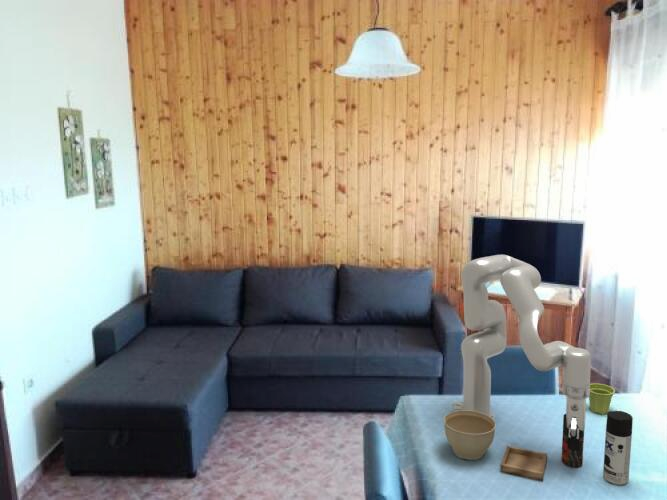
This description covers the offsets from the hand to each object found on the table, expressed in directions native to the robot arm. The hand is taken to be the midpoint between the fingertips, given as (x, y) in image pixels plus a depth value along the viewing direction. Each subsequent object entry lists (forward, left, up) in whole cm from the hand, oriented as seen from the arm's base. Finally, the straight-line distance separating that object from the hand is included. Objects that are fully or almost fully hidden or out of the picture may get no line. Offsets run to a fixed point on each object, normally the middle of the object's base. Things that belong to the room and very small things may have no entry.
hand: (574, 442), depth 166 cm
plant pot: (+7, +41, -7) cm, 42 cm away
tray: (-13, -8, -7) cm, 17 cm away
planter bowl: (-30, -7, -7) cm, 32 cm away
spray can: (+12, -4, -7) cm, 14 cm away
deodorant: (0, 0, -7) cm, 7 cm away
